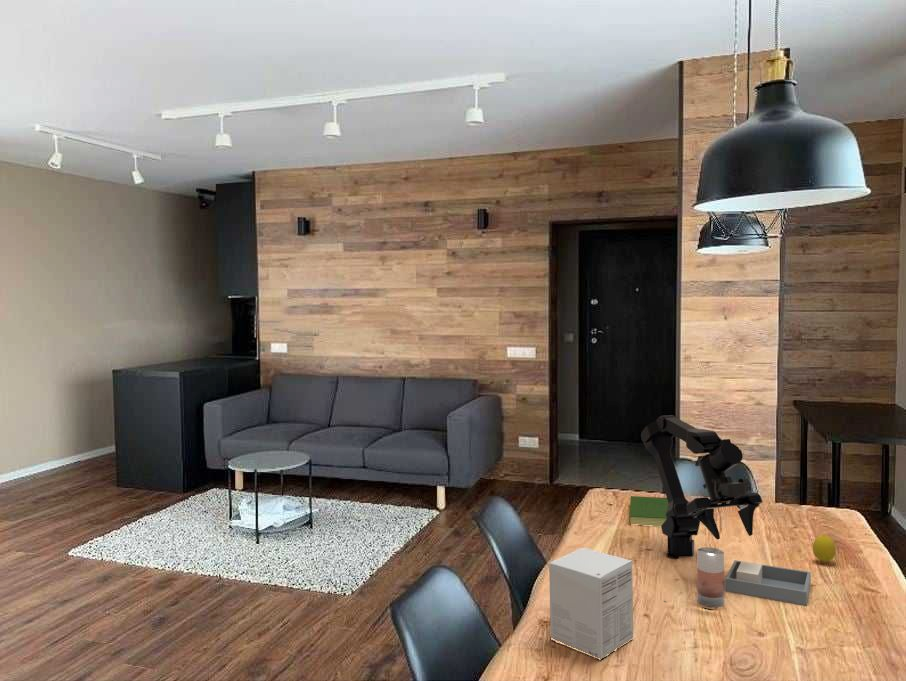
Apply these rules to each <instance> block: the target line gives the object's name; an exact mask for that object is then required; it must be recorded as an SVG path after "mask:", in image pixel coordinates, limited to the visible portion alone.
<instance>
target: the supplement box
mask: <svg viewBox="0 0 906 681" xmlns="http://www.w3.org/2000/svg"><path fill="white" fill-rule="evenodd" d="M548 569H549V570H548V572H549V574H548V575H549V578H548V579H549V621H550V622H549V623H550V634H549V638H550V637H551V638H553V639H555V640H557V641H560V642H562V643H564V644H566V645H568V646H571V647H573V648H576V649H578V650H581V651H583V652H585V653H588V654H590V655H592V656H595V657H597V658H600V659H602V658H603V657H605V656H606V655H607V654H609V653H611V652H612V651H614V650H615V649H616V648H618V647H620V646H621V645H623V644H624V643H626V642H628V641H629V640H630V639H632V638H633V639H634V603H633V602H634V595H633V594H634V592H633V589H634V587H633V581H634V580H633V579H634V578H633V560H630V559H626V558H623V557H620V556H615V555H611V554H608V553H604V552H600V551H597V550H594V549H590V548H587V547H581V548H579V549H576V550H574V551H573V552H569V553H568V554H566V555H565V554H564V556H560V557H558V558H556V559H554V560H552V561H550V562H548Z"/></svg>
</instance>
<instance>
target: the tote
mask: <svg viewBox="0 0 906 681" xmlns="http://www.w3.org/2000/svg"><path fill="white" fill-rule="evenodd" d="M741 561H742V560H733V563H732V564H731V566H730V569H729V570H728V573H727V574H726V576H725V577H724V592H726V593H732V594H738V595H745V596H749V597H755V598H762V599H766V600H770V601H778V602H782V603H783V602H784V603H789V604H795V605H799V606H807V605H808V600H809V596H810V591H811V584H812V573H811V571H807V570H805V571H804V570H800V569H794V568H788V567H781V566H774V565H773V566H772V565H769V564H762V582H761V583H755V582H749V581H743V580H737V569H738V567H739V565H740V563H741Z"/></svg>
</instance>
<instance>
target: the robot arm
mask: <svg viewBox="0 0 906 681" xmlns="http://www.w3.org/2000/svg"><path fill="white" fill-rule="evenodd" d="M674 437H676V438H678V439H679V440H682V441H683V442H684V443H685V444H686V448H687V449H688V450H689V451H690V452H691V453H693V454H695V455H696V454H697V455H698V454H704V455H700V456H697V459H696V461H695V463H694V464H695V467H699V468H700V471H701V474H702V478H703V480H704V484H703V485H702V486H703V489H704V490H705V489H706V490H707V493H708V496H709V497H707V496H705V497H696V498H694V499H692V500H690V501H689V500H688V499H686V497H685V493H684V490H683V487H682V483H681V480H680V478H679V475H678V471H677V468H676V465H675V463H674V459H673V456H672V453H671V452H672V447H673V443H674V442H673V438H674ZM640 438H641V442H642V443H643V445H644V447H645V450H646V452H647V451H648V453H650V455H651V456H652V457H653V458H654V461H655V464H656V467H657V470H658V475H659V477H660V480H661V484H662V487H663V491H664V493H665V496H666V497H665V498H667V500H668V507H667V511H666V517H667V519H666V520H665V522H664V523H663V524H662V526H661V527H660V528H661V531H662V534H663V535H665V536H666V537H667V553H666V554H665V557H666V558H670V559H679V558H680V557H682V558H683V557H689V558H690V557H693V556H694V555H695V540H694V539H693V536H698V534H699V528H700V525H701V524H702V525H704V526H705V528H706V529H707V530H708V531H709V532H710V533H711V535H712V536H713V537H714V538H715V539H716V540H720V539H721V535H720V531H719V529H718V528H719V527H718V526H717V522H716V520H715V516H714V515H715V512H714V511H715V509H718V508H728V507H736V508H737V509H739V510H737V514H738V516H739V518H740V520H741V522H742V525H743V527H744V529H745V532H746V533H747V535H748V537H751V536H753V533H754V532H753V530H754V515H755V514H754V513H755V510H756V509H757V508H759V507H760V505H761V504H763V503H764V501H763V499H762V496H761V494H759V493H758V492H749V491H752V484H751V481H750V478H748V477H743V478H742V477H740V478H738V481H733V479H732V477H731V476H728V475H727V472H726V471H729V470H731V469H732V468H734V467H735V466H736V465H737V466H738V464H740V463H741V462H742V460H743V456H744V455H743V451H742V450H741V449H740V448H739V446H737V445H736V444H735V443H732V441H731V439H730V438H724V439H722V438H721V437H720V436H719V435H718V433H717V432H716V431H714V430H710V429H705V428H704V429H703V428H702V429H701V428H696V427H694V426H693V425H691V424H689V423H687V422H686V421H684V420H681V419H680V418H678V417H677V416H676V415H674V414H673V415H671V414H670V415H661V416H659V417H657V419H656V420H654V421H652V422H651V423H648V424H647V425H646V426H645V427H644V428H643V430H642V431H641V433H640ZM747 492H749V493H747Z"/></svg>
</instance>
